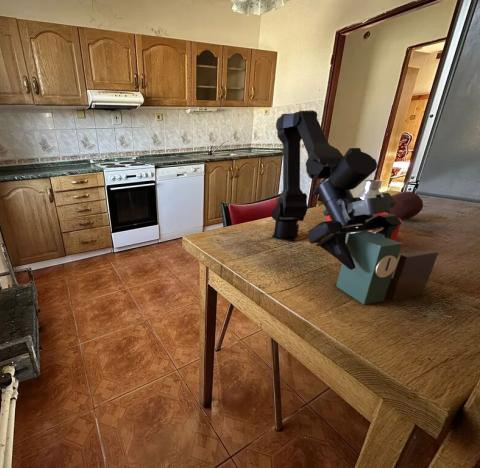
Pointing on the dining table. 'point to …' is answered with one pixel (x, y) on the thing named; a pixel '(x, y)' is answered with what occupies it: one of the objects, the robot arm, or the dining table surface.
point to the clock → (369, 266)
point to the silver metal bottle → (368, 194)
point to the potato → (406, 205)
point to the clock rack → (411, 274)
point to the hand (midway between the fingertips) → (371, 266)
